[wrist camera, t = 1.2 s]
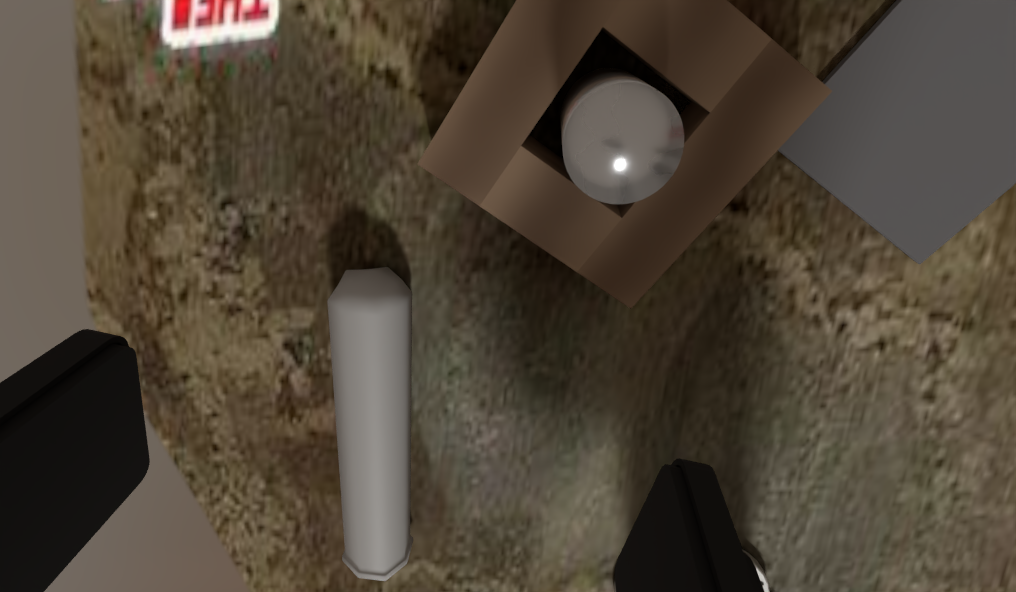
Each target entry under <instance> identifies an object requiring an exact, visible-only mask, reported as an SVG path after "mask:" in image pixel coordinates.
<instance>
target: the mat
mask: <svg viewBox="0 0 1016 592" xmlns="http://www.w3.org/2000/svg"><path fill="white" fill-rule="evenodd" d="M822 83H824V84H825V85H826V86H827V87H828V88H829V89H831V90H832V92H831V93H830V94H829V95H828V96H827V98H826V99H825V100H824V101H823V102H822V103H821V104H820V105H819V106H818V107H817V108H816V109H815V111H814V112H813V113H812V114H811V115H810V116H809V117H808V118H807V119H806V120H805V121H804V122H803V123H802V125H801V126H800V127H799V128H798V129H797V130H796V131H795V132H794V133H793V134H792V135H791V136H790V137H789V139H788V140H787V141H786V142H785V143H784V144H783V145H782V146H781V147H780V148H779V149H778V151H779V152H780V153H782V154H783V155H784V156H785V157H787V158H788V159H789V160H790V161H792V162H793V163H794V164H795V165H796V166H798V167H799V168H800V169H801V170H803V171H804V172H805V173H806V174H808V175H809V176H810V177H811V178H813V179H814V180H815V181H816V182H817V183H819V184H820V185H821V186H822V187H824V188H825V189H826V190H827V191H829V192H830V193H831V194H832V195H834V196H835V197H836V198H837V199H838V200H840V201H841V202H842V203H843V204H845V205H846V206H847V207H848V208H850V209H851V210H852V211H853V212H854V213H856V214H857V215H858V216H859V217H861V218H862V219H863V220H864V221H866V222H867V223H868V224H869V225H871V226H872V227H873V228H874V229H875V230H877V231H878V232H879V233H880V234H882V235H883V236H884V237H885V238H887V239H888V240H889V241H890V242H892V243H893V244H894V245H895V246H896V247H898V248H899V249H900V250H901V251H903V252H904V253H905V254H906V255H908V256H909V257H910V258H911V259H913V260H914V261H915V262H917V263H918V264H921V263H922V262H923V261H924V260H926V259H927V258H928V257H929V256H930V255H932V254H933V253H934V252H935V251H936V250H937V249H939V248H940V247H941V246H942V245H943V244H945V243H946V242H947V241H948V240H949V239H950V238H952V237H953V236H954V235H955V234H956V233H958V232H959V231H960V230H961V229H962V228H963V227H965V226H966V225H967V224H968V223H969V222H971V221H972V220H973V219H974V218H975V217H976V216H978V215H979V214H980V213H981V212H982V211H984V210H985V209H986V208H987V207H988V206H989V205H991V204H992V203H993V202H994V201H995V200H996V199H998V198H999V197H1000V196H1001V195H1002V194H1004V193H1005V192H1006V191H1007V190H1008V189H1009V188H1011V187H1012V186H1013V185H1014V184H1015V183H1016V0H896V1H895V2H894V3H893V4H892V6H891V7H890V8H889V9H888V10H887V11H886V12H885V13H884V14H883V15H882V17H881V18H880V19H879V20H878V21H877V22H876V23H875V24H874V25H873V26H872V27H871V29H870V30H869V31H868V32H867V33H866V34H865V35H864V36H863V37H862V38H861V40H860V41H859V42H858V43H857V44H856V45H855V46H854V47H853V48H852V49H851V51H850V52H849V53H848V54H847V55H846V56H845V57H844V58H843V59H842V60H841V62H840V63H839V64H838V65H837V66H836V67H835V68H834V69H833V70H832V71H831V73H830V74H829V75H828V76H827V77H826V78H825V79H824V80H823V81H822Z"/></svg>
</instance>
